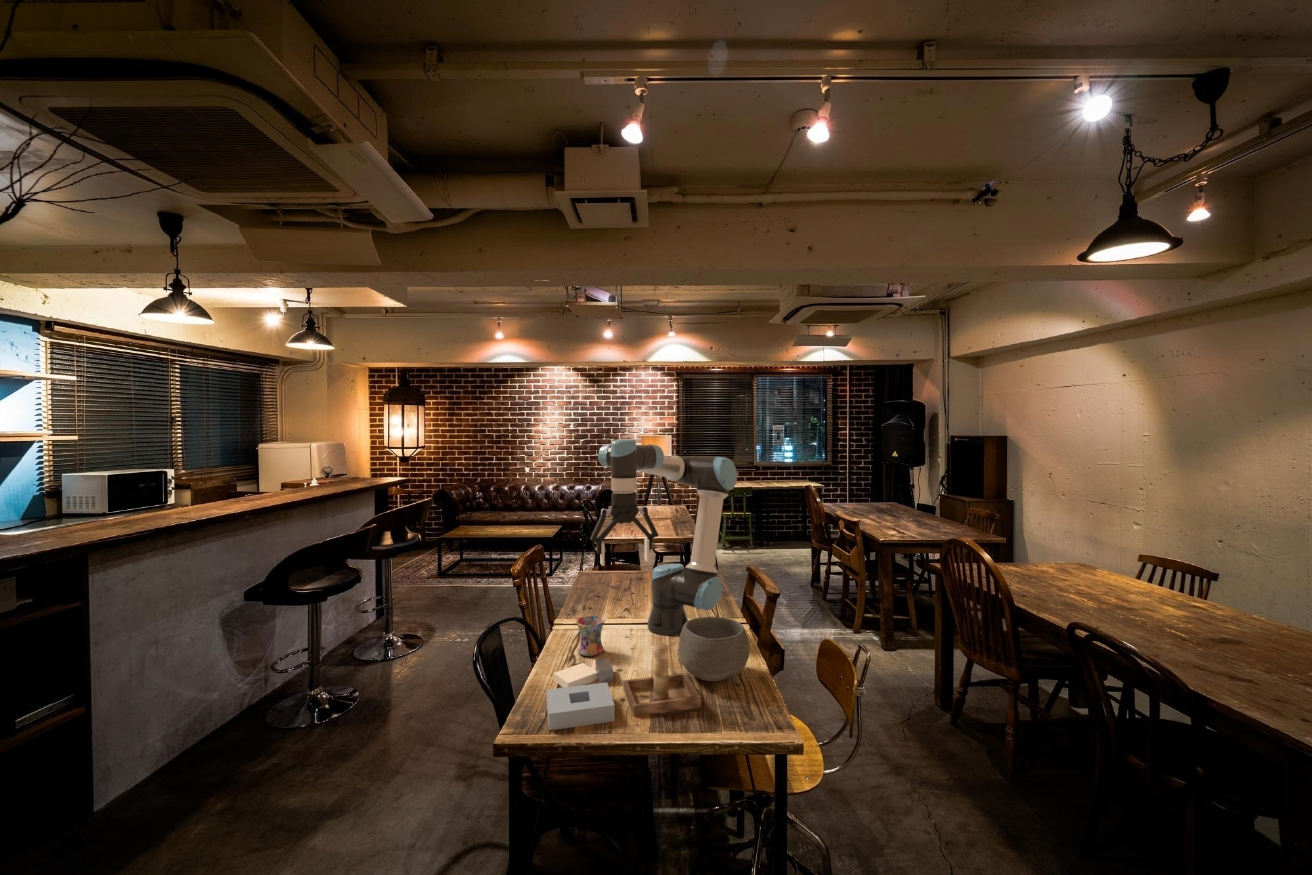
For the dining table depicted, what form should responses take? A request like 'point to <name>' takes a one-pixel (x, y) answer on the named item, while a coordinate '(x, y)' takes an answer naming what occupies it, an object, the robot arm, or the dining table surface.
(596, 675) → the cream rectangular block
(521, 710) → the dining table surface
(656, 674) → the dowel
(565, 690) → the dowel block
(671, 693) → the tray
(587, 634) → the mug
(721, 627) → the bowl
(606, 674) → the block
